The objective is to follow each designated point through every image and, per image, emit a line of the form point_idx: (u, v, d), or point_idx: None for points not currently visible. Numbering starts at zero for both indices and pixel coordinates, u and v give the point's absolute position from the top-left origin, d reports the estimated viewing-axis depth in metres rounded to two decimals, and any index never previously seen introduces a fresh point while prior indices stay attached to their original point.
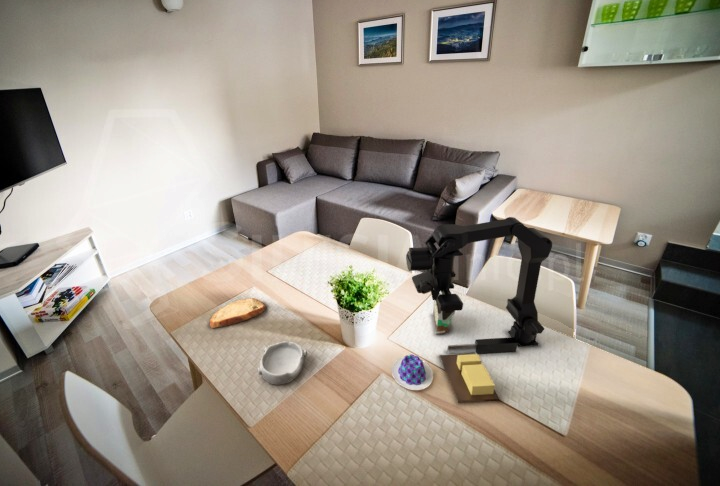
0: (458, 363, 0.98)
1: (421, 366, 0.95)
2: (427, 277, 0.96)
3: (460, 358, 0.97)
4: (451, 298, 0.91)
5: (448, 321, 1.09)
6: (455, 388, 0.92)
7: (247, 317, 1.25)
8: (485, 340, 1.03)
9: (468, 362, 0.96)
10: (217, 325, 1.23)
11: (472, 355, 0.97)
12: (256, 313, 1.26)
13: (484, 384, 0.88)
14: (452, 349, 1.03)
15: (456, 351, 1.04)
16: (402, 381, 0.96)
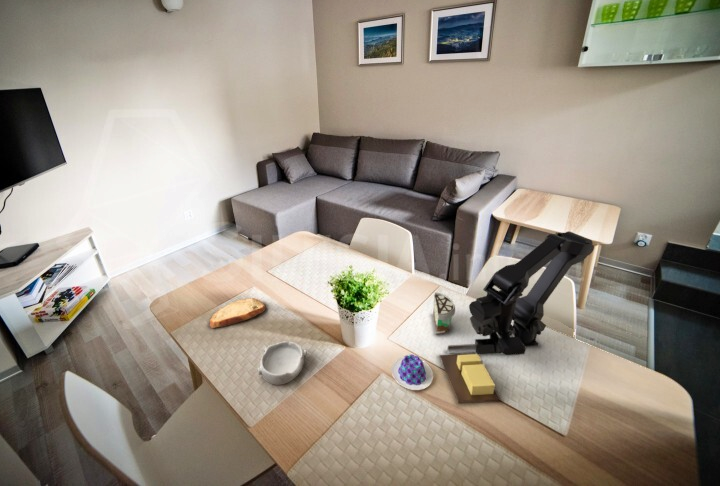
0: (458, 363, 0.98)
1: (421, 366, 0.95)
2: (486, 319, 0.98)
3: (460, 358, 0.97)
4: (514, 342, 0.92)
5: (448, 321, 1.09)
6: (455, 388, 0.92)
7: (247, 317, 1.25)
8: (485, 340, 1.03)
9: (468, 362, 0.96)
10: (217, 325, 1.23)
11: (472, 355, 0.97)
12: (256, 313, 1.26)
13: (484, 384, 0.88)
14: (452, 349, 1.03)
15: (456, 351, 1.04)
16: (402, 381, 0.96)
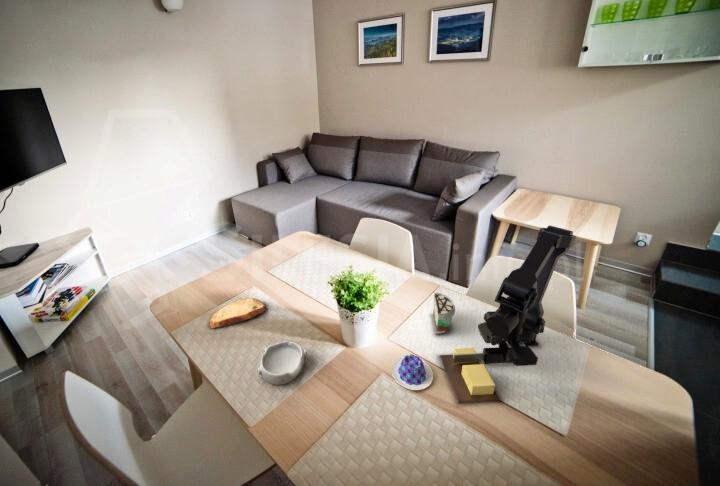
0: None
1: (421, 366, 0.95)
2: None
3: (457, 352, 0.99)
4: (525, 352, 0.87)
5: (448, 321, 1.09)
6: (455, 388, 0.92)
7: (247, 317, 1.25)
8: (494, 349, 0.97)
9: None
10: (217, 325, 1.23)
11: (468, 349, 1.00)
12: (256, 313, 1.26)
13: (484, 384, 0.88)
14: (459, 358, 0.98)
15: (463, 360, 0.98)
16: (402, 381, 0.96)
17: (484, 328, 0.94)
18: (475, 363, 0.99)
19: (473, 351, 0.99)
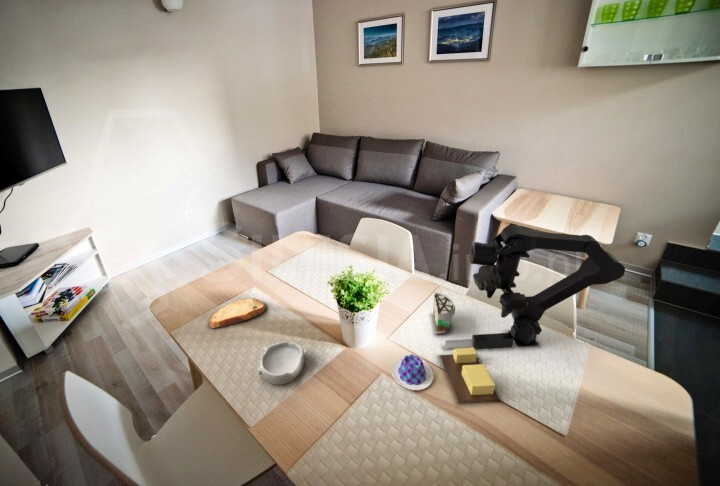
0: (454, 356, 1.00)
1: (421, 366, 0.95)
2: (490, 275, 0.99)
3: (456, 351, 0.99)
4: (516, 297, 0.93)
5: (448, 321, 1.09)
6: (455, 388, 0.92)
7: (247, 317, 1.25)
8: (482, 335, 1.05)
9: (464, 355, 0.98)
10: (217, 325, 1.23)
11: (468, 348, 1.00)
12: (256, 313, 1.26)
13: (484, 384, 0.88)
14: (450, 344, 1.05)
15: (454, 346, 1.06)
16: (402, 381, 0.96)
17: (479, 277, 1.00)
18: (475, 363, 0.99)
19: (473, 351, 0.99)
